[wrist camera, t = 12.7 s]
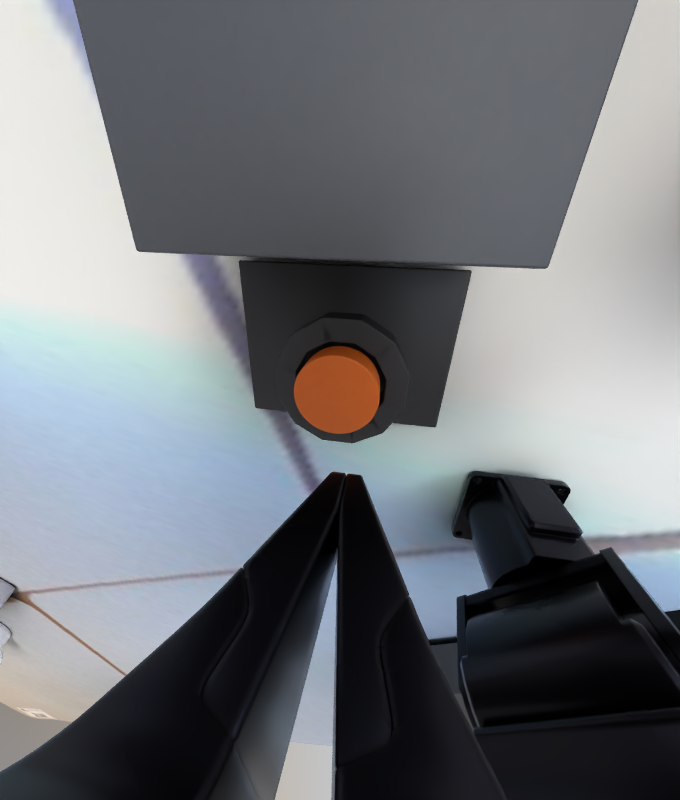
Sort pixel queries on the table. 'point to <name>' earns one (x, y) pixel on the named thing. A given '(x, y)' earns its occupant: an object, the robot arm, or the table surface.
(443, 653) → the coffee maker
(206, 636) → the robot arm
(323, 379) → the button
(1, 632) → the mug
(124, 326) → the table surface
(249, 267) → the button base
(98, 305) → the table surface
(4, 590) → the juice carton
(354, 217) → the lid
